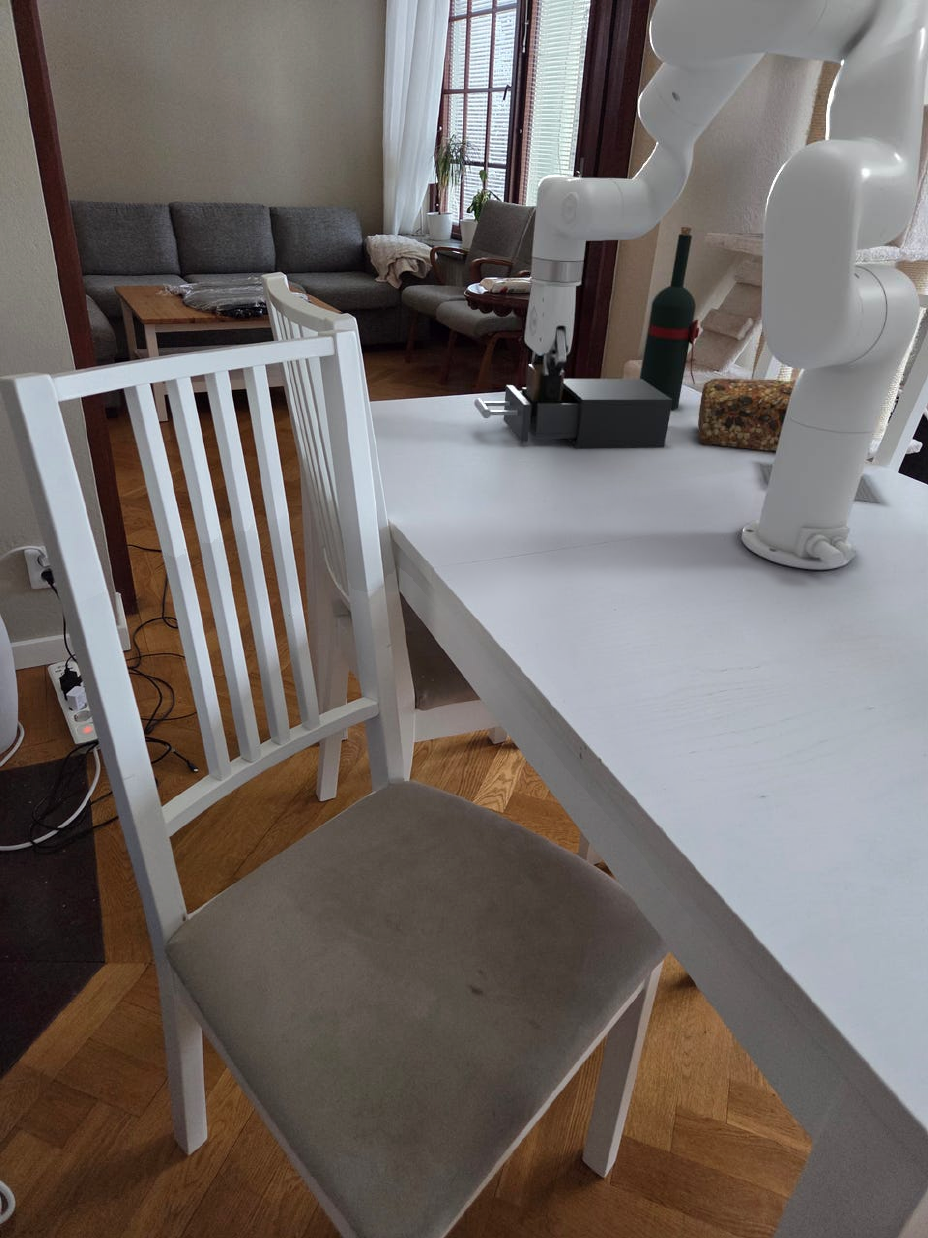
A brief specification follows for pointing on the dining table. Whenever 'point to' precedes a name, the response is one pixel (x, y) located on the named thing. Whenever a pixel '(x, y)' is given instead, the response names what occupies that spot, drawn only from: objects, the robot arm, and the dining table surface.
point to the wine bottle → (671, 329)
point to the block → (537, 382)
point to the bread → (743, 412)
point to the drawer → (536, 415)
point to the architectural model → (862, 492)
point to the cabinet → (619, 413)
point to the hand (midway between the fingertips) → (543, 395)
